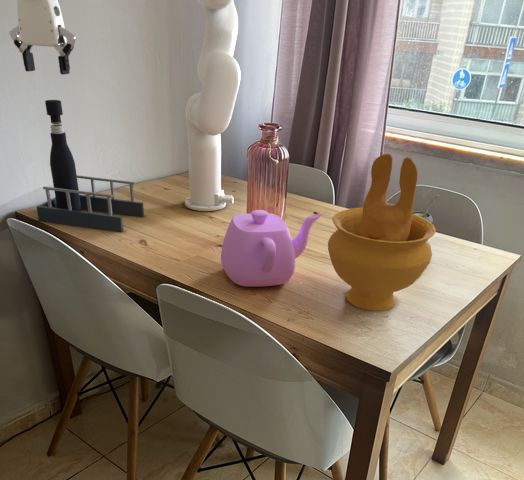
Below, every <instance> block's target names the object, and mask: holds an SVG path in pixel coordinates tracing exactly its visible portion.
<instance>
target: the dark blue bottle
mask: <svg viewBox="0 0 524 480" xmlns="http://www.w3.org/2000/svg"><path fill="white" fill-rule="evenodd" d="M44 103H45V110H46V115H47V116H49V117H50V123H51V124H50V139H51V148H50V152H49V153H50V154H49V167H50V174H51V178H52V185H53V188H60V189H68V190H76V191H80V190H79V183H78V182H79V181H78V178H77V169H76V167H77V166H76V161H75V159H74V156H73V153H72V151H71V148H70V147H69V145H68V141H67V136H66V132H65V129H64V127H65V126H63V124H62V118H61V116H62V115H64V112H63V106H62V101H61V100H60V99H47V100H45V101H44ZM53 192H54V198H56V204H57V208H61V209H68V204H67V198H66V192H62V191H54V190H53ZM69 194H70V201H71V207H72V210H76V211H83V209H81V203H80V196H79V195H80V194H78V193H70V192H69Z"/></svg>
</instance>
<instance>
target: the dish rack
mask: <svg viewBox="0 0 524 480" xmlns="http://www.w3.org/2000/svg"><path fill="white" fill-rule="evenodd" d="M76 175H77V174H76ZM77 179H83V180H90V187H91V191H83V190H79V191H76V190H68V189H60V188H54V187H52V186H42V189H43V190H45V195H46V201H45V202H43V203H41V204H39V205H37V206H36V212H37V218H38V221H39V222H44V223H45V222H46V223H51V224H52V223H53V224H60V225H67V226H75V227H80V228H81V227H82V228H89V229H96V230H102V231H110V232H119V233H123V232H124V224H123V222H124V221H123V216H124V215H126V216H131V217H139V218H144V217H145V211H144V209H145V208H144V202H141V201H135V194H134V193H135V192H134V186H135V184H136V183H135V181H128V180H120V179H111V178H103V177H94V176H87V175H77ZM95 181H100V182H108V183H109V186H110V194H109V193H108V194H107V193H99V192H96V183H95ZM114 183H117V184H126V185H129V195H130V200H126V199H118V198H116V194H115V185H114ZM50 191H53V192H54V191H62V192H66V198H67V204H68V209H61V208H57V204H56V198H55V197H53V198H51V193H50ZM69 192H70V193H78V194H79V196H80V203H81V210H82V211H76V210H72V207H71V201H70V194H69ZM83 210H86V211H83ZM98 212H100V213H98ZM104 213H105V214H104ZM106 213H108V214H106ZM113 214H115V215H113ZM121 215H123V216H121Z"/></svg>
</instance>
